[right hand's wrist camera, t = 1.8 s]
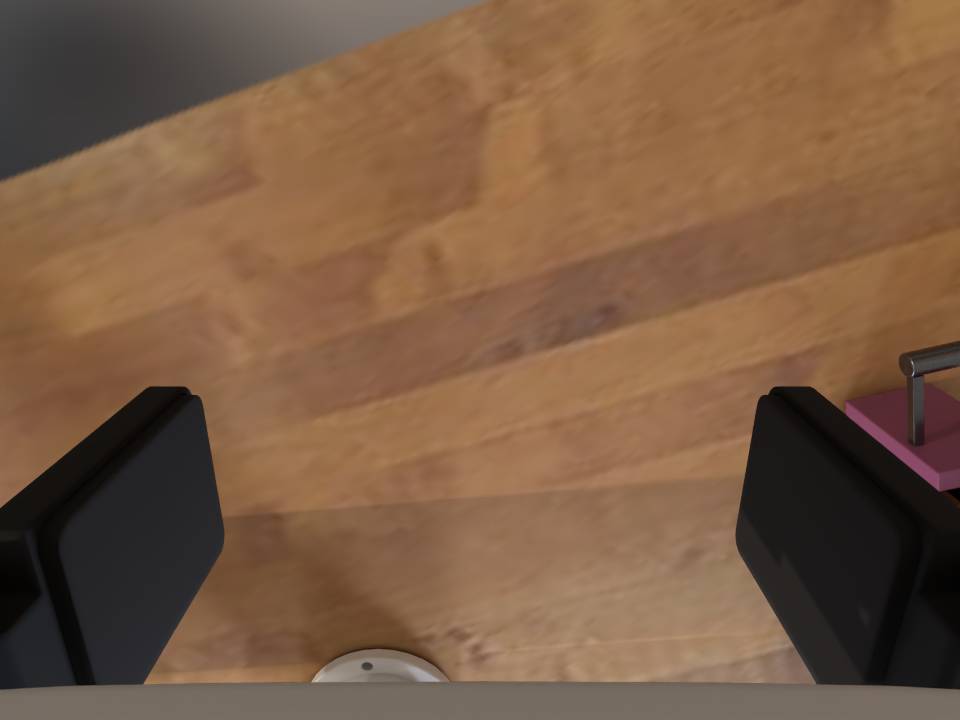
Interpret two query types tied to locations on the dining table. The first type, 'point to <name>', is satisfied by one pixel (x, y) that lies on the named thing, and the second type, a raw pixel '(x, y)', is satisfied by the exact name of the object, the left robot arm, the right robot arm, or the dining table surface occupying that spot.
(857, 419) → the drawer
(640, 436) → the dining table surface
